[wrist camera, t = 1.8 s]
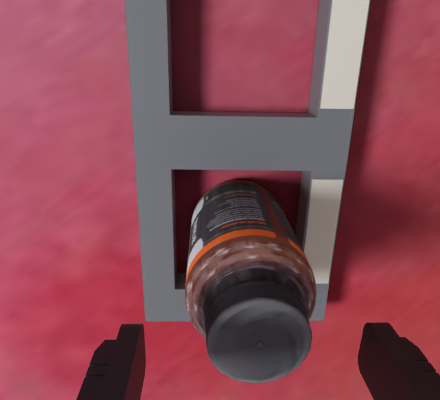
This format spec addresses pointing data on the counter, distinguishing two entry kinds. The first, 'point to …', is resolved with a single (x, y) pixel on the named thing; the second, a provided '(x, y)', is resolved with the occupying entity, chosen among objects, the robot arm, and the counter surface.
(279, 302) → the supplement bottle
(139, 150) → the socket panel
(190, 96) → the counter surface
